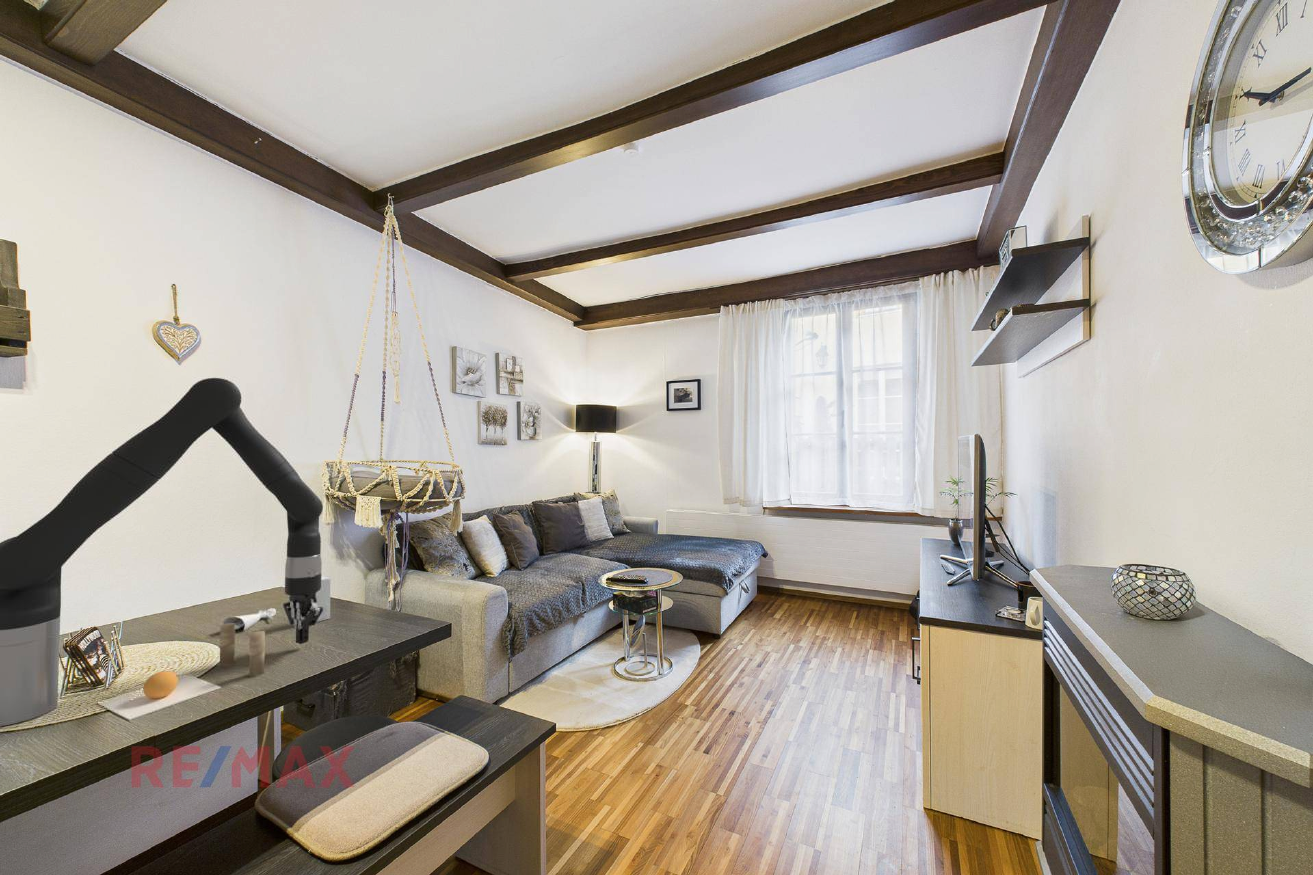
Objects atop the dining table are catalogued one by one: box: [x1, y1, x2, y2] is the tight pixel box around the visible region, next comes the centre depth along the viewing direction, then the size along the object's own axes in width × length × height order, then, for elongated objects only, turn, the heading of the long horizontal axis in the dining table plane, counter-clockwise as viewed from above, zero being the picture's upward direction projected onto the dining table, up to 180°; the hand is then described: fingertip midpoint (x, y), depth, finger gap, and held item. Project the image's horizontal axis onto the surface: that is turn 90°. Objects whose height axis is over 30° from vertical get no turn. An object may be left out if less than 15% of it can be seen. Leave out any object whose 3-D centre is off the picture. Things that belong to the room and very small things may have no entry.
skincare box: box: [316, 576, 331, 623], centre depth 148 cm, size 6×4×12 cm
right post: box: [248, 630, 266, 678], centre depth 113 cm, size 3×3×9 cm
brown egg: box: [143, 670, 178, 699], centre depth 102 cm, size 5×5×5 cm
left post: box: [219, 623, 236, 667], centre depth 118 cm, size 3×3×9 cm
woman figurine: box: [220, 606, 277, 631], centre depth 145 cm, size 12×4×18 cm
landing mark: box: [97, 674, 222, 721], centre depth 103 cm, size 14×14×1 cm
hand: (302, 642), depth 127 cm, fingers closed
